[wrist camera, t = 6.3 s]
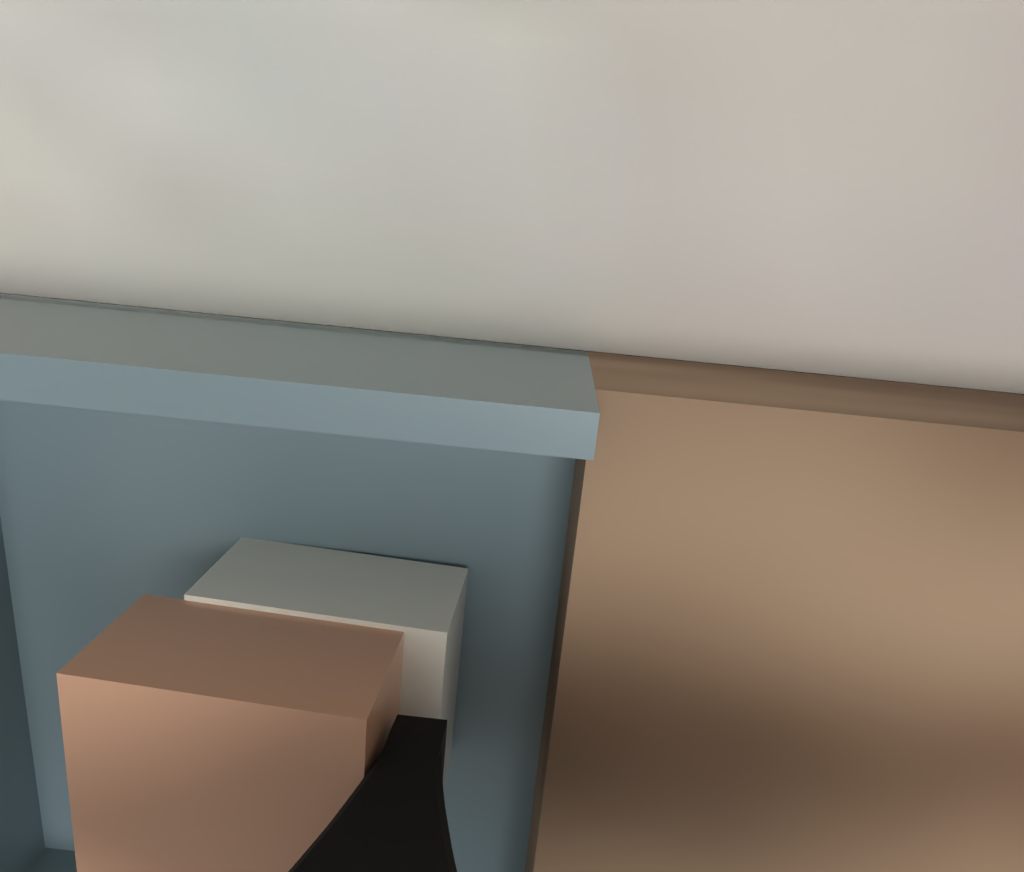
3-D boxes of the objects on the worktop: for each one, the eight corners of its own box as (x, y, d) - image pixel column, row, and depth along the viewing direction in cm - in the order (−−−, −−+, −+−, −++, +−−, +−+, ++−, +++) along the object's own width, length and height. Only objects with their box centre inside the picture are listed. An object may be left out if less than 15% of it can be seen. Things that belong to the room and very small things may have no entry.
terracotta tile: (391, 842, 13) (355, 958, 11) (156, 804, 13) (80, 910, 11) (404, 630, 11) (366, 720, 9) (143, 593, 12) (56, 673, 10)
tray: (519, 906, 16) (510, 1093, 13) (32, 850, 16) (-100, 1019, 13) (587, 350, 12) (599, 413, 9) (-48, 288, 13) (-264, 325, 9)
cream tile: (450, 757, 14) (429, 844, 12) (244, 725, 15) (192, 805, 13) (468, 568, 13) (447, 632, 11) (241, 536, 13) (183, 594, 11)
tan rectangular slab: (995, 961, 16) (1069, 1090, 14) (519, 906, 16) (513, 1024, 14) (1213, 413, 12) (1365, 466, 10) (587, 350, 12) (595, 389, 10)
